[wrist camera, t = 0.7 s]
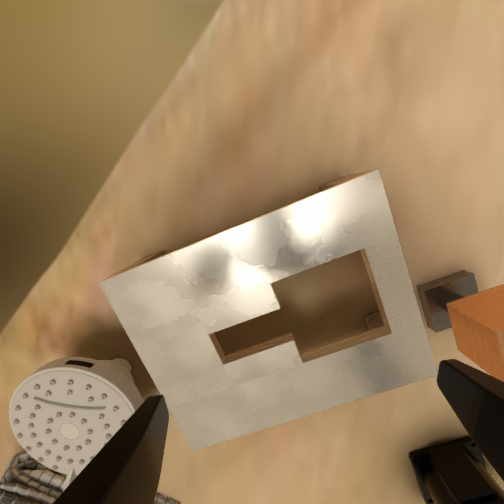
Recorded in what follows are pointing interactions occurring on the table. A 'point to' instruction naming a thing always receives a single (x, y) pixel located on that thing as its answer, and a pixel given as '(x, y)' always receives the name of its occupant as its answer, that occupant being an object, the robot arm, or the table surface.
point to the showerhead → (72, 410)
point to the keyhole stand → (264, 301)
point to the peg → (468, 318)
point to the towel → (38, 483)
